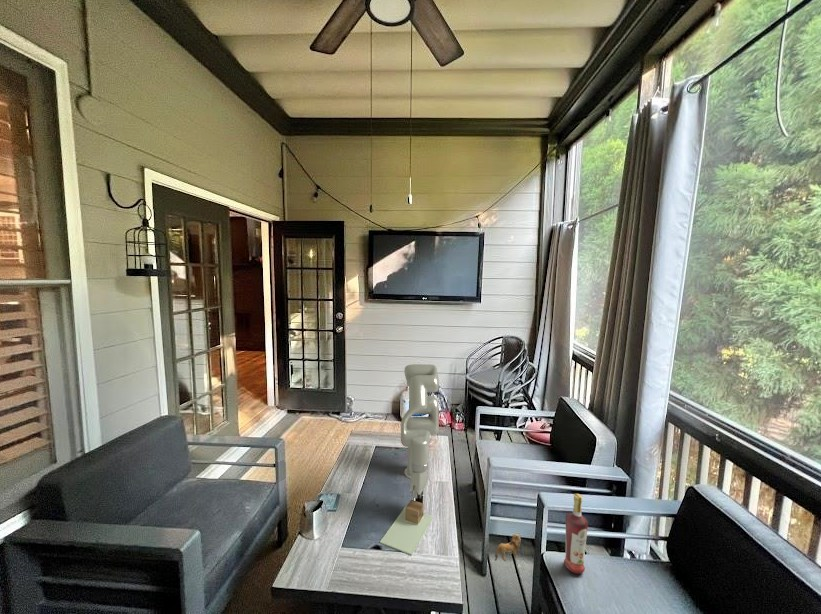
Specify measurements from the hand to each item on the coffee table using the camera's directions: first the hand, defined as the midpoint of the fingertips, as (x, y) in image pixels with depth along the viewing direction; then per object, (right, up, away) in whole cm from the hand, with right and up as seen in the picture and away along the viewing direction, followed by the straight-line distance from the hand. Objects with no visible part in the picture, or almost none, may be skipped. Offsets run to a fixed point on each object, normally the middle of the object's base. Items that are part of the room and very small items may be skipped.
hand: (419, 504), depth 152 cm
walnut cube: (-2, -4, -4) cm, 6 cm away
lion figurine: (+33, -7, -23) cm, 41 cm away
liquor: (+56, -7, -28) cm, 63 cm away
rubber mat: (-5, -5, -10) cm, 12 cm away
